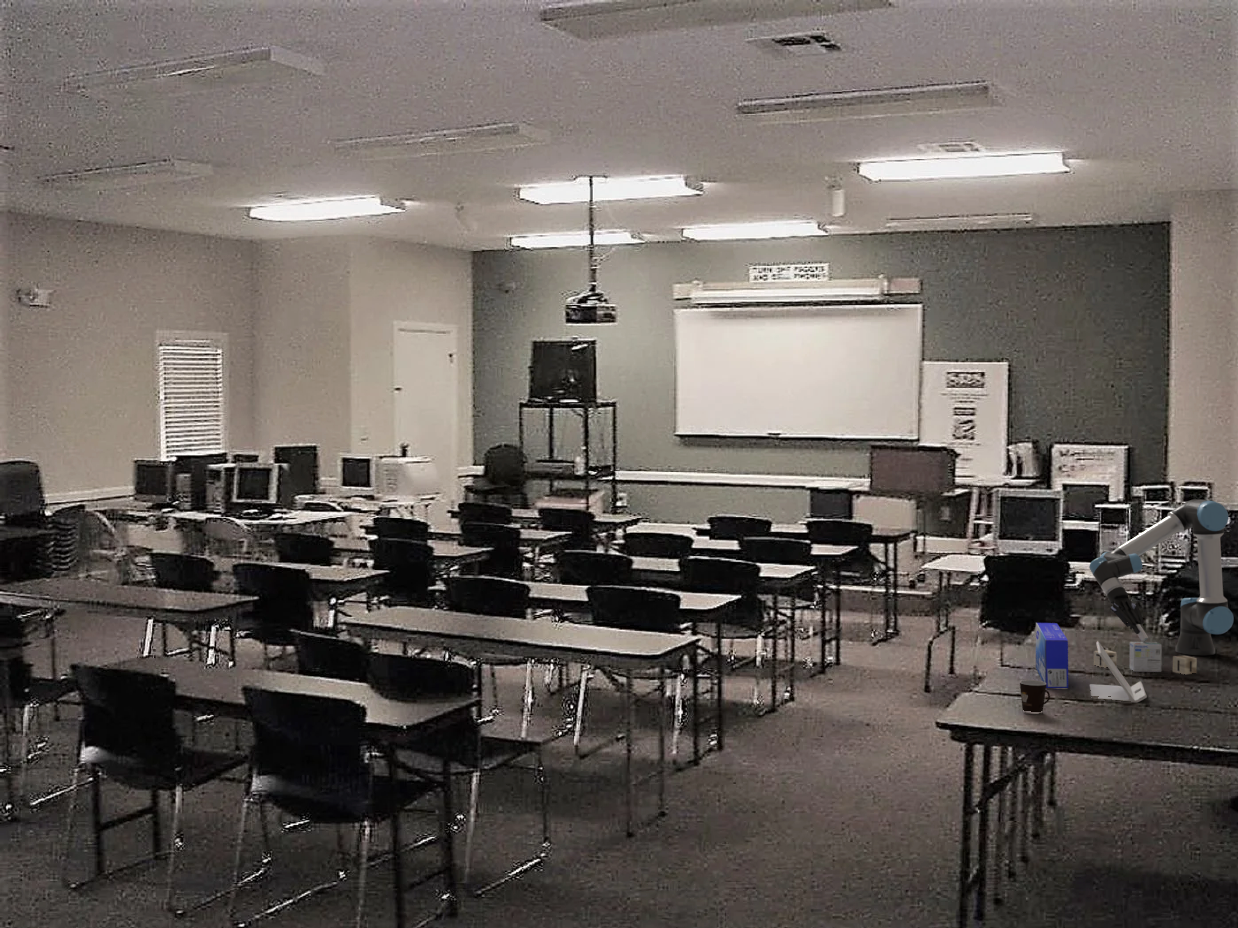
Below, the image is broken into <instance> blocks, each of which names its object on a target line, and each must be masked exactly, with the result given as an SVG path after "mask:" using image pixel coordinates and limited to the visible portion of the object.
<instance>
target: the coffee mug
mask: <svg viewBox="0 0 1238 928" xmlns="http://www.w3.org/2000/svg"><path fill="white" fill-rule="evenodd" d="M1046 684H1047V683H1045V682H1042V680H1033V679H1032V680H1031V679H1027V680H1026V679H1025V680H1020V681H1019V688H1020V689H1019V690H1020V697H1021V699H1020V701H1021V707H1022V711H1023V710H1024V711H1031V712H1041V711H1043V712H1044V706H1045V705H1046V704H1047V703H1048V702H1050V699H1051V694H1050V692H1049V691H1048V689H1046ZM1046 694H1047V699H1046V701H1045V698H1046Z"/></svg>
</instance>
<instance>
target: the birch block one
mask: <svg viewBox="0 0 1238 928" xmlns="http://www.w3.org/2000/svg"><path fill="white" fill-rule="evenodd" d="M1197 659H1198V658H1197V657H1194V656H1189V655H1177V656H1175V655H1174V656H1172V673H1176V674H1180V673H1181V675H1184V674H1185V675H1193V674H1192V673H1196V674H1197V669H1198V668H1197V664H1198V663H1197V661H1198V660H1197Z"/></svg>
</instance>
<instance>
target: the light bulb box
mask: <svg viewBox="0 0 1238 928" xmlns="http://www.w3.org/2000/svg"><path fill="white" fill-rule="evenodd" d="M1162 648H1163V647H1162V644H1161V643H1159V642H1157V641H1145V642H1141V641H1129V669H1130V670H1131V671H1132V670H1133V671H1132V672H1137V673H1139V672H1143V673H1145V672H1147V673H1148V672H1149V673H1154V672H1155V673H1161V672H1162V656H1163V655H1162V654H1163V653H1162Z"/></svg>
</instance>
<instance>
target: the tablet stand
mask: <svg viewBox="0 0 1238 928" xmlns="http://www.w3.org/2000/svg"><path fill="white" fill-rule="evenodd" d="M1095 643H1096V647H1097V651H1098V653H1099V655H1100V656H1101V658H1102V659H1103V661H1104V662H1105V663H1106V665H1107V666H1108V668H1107V669H1108V670H1109V671H1110V672H1111V673H1112V675H1113V676H1114V678H1115V679H1116V680H1117V682H1118V683H1119V684H1120V685H1113V684H1112V685H1108V684H1093V683H1090V684H1089V689H1090V690H1091V691H1090V690H1089V691H1090V697H1091V696H1099V697H1098V699H1112V700H1123V701H1131V702H1130V703H1140V702H1141V701H1144V700H1145V699H1147V697H1148V696H1147V693H1146V690H1145V687H1144V684H1143V682H1142V681H1138V682H1136V683H1135V684H1133V685H1131V686H1130V684H1129V683H1128V681H1127V680H1126V678H1125V677H1124V676H1123V674H1122V673H1121V672H1120V670H1119V669H1118V667H1117V665H1116V666H1115V664H1114V663H1113V661H1112V660H1111V659H1110V657H1109V656H1108V654H1107V653H1106V651H1105V650H1106V649H1104V647H1103V646H1102V644H1101V643H1100V642H1099V641H1098V640H1097V641H1096V642H1095ZM1108 696H1111V697H1108Z"/></svg>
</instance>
